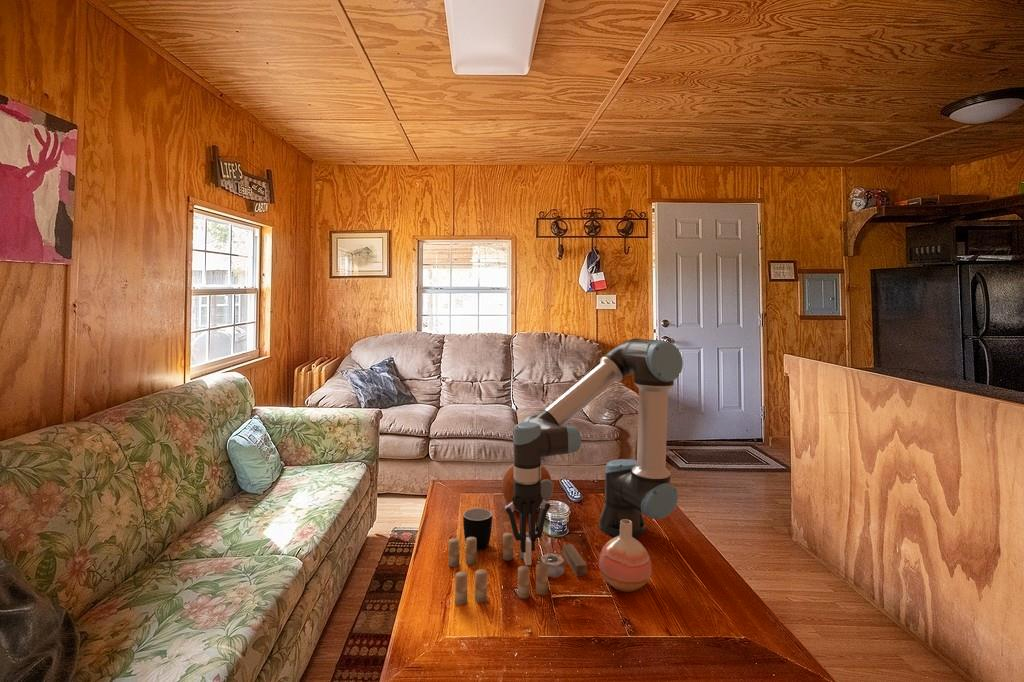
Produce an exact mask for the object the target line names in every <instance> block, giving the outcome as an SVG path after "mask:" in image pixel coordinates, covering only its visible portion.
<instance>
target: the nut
mask: <svg viewBox="0 0 1024 682" xmlns="http://www.w3.org/2000/svg"><path fill="white" fill-rule="evenodd" d="M539 561H540V562H539V563H545V564H547V565H548V577H549V578H554V579H557V578H558V577H560V576H562V575H564V574H565V559H564V558H563V556H562V555H561V554H557V553H550V552H548V553H546V554H544V555H542V556H540V558H539Z"/></svg>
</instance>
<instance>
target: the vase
mask: <svg viewBox="0 0 1024 682" xmlns="http://www.w3.org/2000/svg"><path fill="white" fill-rule="evenodd" d="M598 559H599V560H598V565H599V567H598V568H599V571H600V573H601V576H602V577H603V578H604V580H605V581H606V582H607V583H608V584H609V585H610V586H612V587H613V588H614V589H615V590H618V591H619V592H623V593H624V592H625V593H631V592H635V591H636V590H639V589H640V588H642V587H643V586H644V585H646V584H647V583H648V581H649V580H650V577H651V574H652V561H651V557H650V555H649V552H648V551H647V549H646V547H645V546H644V545H643V544H642V543H641V542H640V541H639V540H637V539H636V537H634V538H633V537H632V521H630V520H628V519H622V520H621V521H620V535H619V536H617V537H615V536H613V538H611V539H609V540H608V541H607V542H606V543H605V544H604V546H603V547H602V549H601V551H600V554H599V558H598Z"/></svg>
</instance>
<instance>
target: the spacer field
mask: <svg viewBox="0 0 1024 682" xmlns="http://www.w3.org/2000/svg"><path fill="white" fill-rule="evenodd" d="M526 537H529V531H526ZM476 547H477V539H476V538H475V537H468V538H466V542H465V564H466V565H468V566H475V565H476V564H477V551H476ZM519 558H520V559H521V560H524V553H522V551H521V549H520V548H519ZM502 559H503V560H504V561H511V560H513V559H514V535H513V532H504V533H503V534H502ZM459 565H460V539H459V538H455V537H453V538H450V539H448V566H449V567H451V568H457V567H458V566H459ZM535 566H536V567H535V593H536V595H539V596H546V595H547V594H548V579H549V578H548V565H547V564H545V563H540V562H539V563H537V564H535ZM530 571H531V568H530V567H528V565H520V566H518V567H517V597H518V598H520V599H522V600H525V599H528V598H529V597H530V580H531V579H530V578H531V577H530V576H531V575H530ZM474 574H475V575H474V578H475V579H474V580H475V581H474V595H475V596H474V601H475V602H476V603H479V604H483V603H485V602H487V600H488V571H487V570H486V569H477V570H476V571H475V573H474ZM454 576H455V578H454V580H455V585H454V587H455V588H454V589H455V590H454V592H455V593H454V594H455V596H454V597H455V600H454V602H455V605H457V606H465V605H466V604H468V573H467V572H466V571H458V572H456V573H455V574H454Z"/></svg>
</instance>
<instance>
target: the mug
mask: <svg viewBox="0 0 1024 682" xmlns="http://www.w3.org/2000/svg"><path fill="white" fill-rule="evenodd" d="M462 517H463V520H462V523H463V524H462V525H463V533H464V541H465V543H466V538H468V537H475V538H476V539H477V547H476V552H477V551H483V550H485V549H486V548H488V546H489V544H490V539H491V535H492V528H493V527H492V525H493V512H492V511H490V509H486V508H482V507H481V508H480V507H474V508H470V509H468V510H466V511H464V512H463V515H462Z"/></svg>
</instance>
